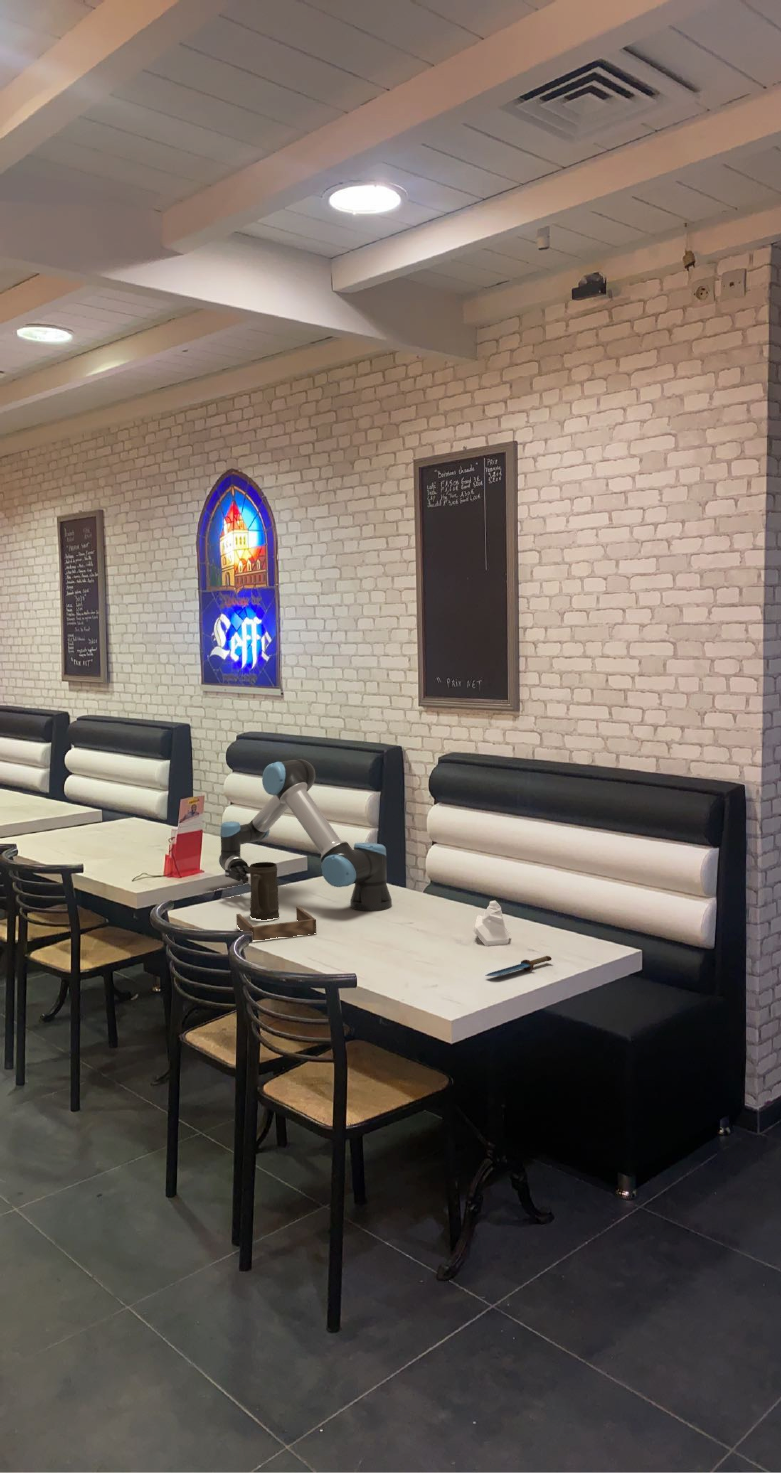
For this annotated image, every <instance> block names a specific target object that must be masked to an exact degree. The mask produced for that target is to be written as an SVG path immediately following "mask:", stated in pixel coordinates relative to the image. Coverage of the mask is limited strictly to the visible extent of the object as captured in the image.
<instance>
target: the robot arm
mask: <svg viewBox="0 0 781 1473" xmlns="http://www.w3.org/2000/svg"><path fill="white" fill-rule="evenodd" d="M315 780H316V770H315V767H314V766H313V765H312V764H311V763H310V762H309V761H307V760H305V759H303V758H302V759H301V758H297V759H291V760H285V761H276V762H273V763H270V764H268V765H267V766H266V767H265V768H264V770H263V773H262V779H261V781H262V782H261V783H262V787H263V790H264V791H265V793H267V794H268V795H270V796H272V797H271V798H270V799H269V800H268V802H266V804H265V805H264V806H263V807H262V808H261V809H260V811H259V812H258V813H257V814H256V815H255V816H254V818H253V819H251V821H249V822H248V823H244V824H240V822H239V821H224V822H222V823H221V824H220V831H219V832H220V833H219V834H220V855H219V857H218V864H219V865H220V867H221V868H222V870H224V875H225V878H230V879H233V880H234V881H237V882H242V884H246V883H248V884H249V886H251V878H250V872H249V868H250V865H249V864H248V863H247V861H245V860H244V859H243V858H242V857H241V848H242V847H241V845H245V844H250V843H255V842H261V841H262V840H265V839H267V838H268V837H269V836H270V829H271V828H272V827H273V826H274V824H275V823H276V822H277V821H279V819H280V818H281V817H282V816H283V815H284V814H285V812H286V811H288V809H290V811H291V812H292V813H293V815H294V816H295V818H296V819H297V821H298V822H299V823H300V825H301V826H302V828H303V830H304V831H305V833H306V834H307V836H308V837H309V839H310V840H311V841H312V843H313V844H314V846H315V847H316V849H317V850H318V851H319V853H320V855H321V856H320V859H319V860H320V862H321V868H320V869H321V875H322V877H323V879H324V880H325V881H326V882H327V883H328V884H329V885H330V886H332V887H335V888H342V887H345V888H346V887H349V886H351V885H353V884H354V886H353V890H352V894H351V898H350V901H349V902H350V903H349V904H350V908H352V909H354V910H358V911H364V912H366V911H367V912H368V911H369V912H374V911H375V912H376V911H382V910H387V909H389V908H391V907H392V906H393V904H392V903H393V902H392V897H391V894H390V890H389V888H388V883H387V882H388V881H387V848H386V846H384V845H383V844H381V843H380V844H379V843H374V842H372V843H371V842H356V843H354V844H353V848H352V847H351V845H350V844H349V843H348V841H344V840H341V839H340V838H341V837H339V836H338V834H337V833H336V831H335V830H334V828H333V827H332V826H331V824H330V822H329V821H328V820H327V818H326V816H324V814H323V812H322V811H321V809H320V808H319V806H318V805H317V804H316V802H315V801H314V799H313V798H312V796H311V795H310V794H309V791H310V789H312V787H313V785H314V784H315Z"/></svg>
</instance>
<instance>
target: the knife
mask: <svg viewBox="0 0 781 1473" xmlns="http://www.w3.org/2000/svg"><path fill="white" fill-rule="evenodd" d="M550 961H552V957H551V956H550V955H545V956H541V957H539V958H535V959H532V960H529V959H523V960H521V961H520V963H518V964H516V965H513V966H509V967H505V968H502V969H499V970H496V971H492V972H489V973H487V974H485V976H486V977H499V976H503V975H506V974H510V973H513V972H515V971H520V970H525V971H532V970H533V969H534V966H535V965H538V964H541V963H545V962H546V963H547V962H550Z"/></svg>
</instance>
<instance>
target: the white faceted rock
mask: <svg viewBox="0 0 781 1473" xmlns="http://www.w3.org/2000/svg"><path fill="white" fill-rule="evenodd" d="M473 932H474V934H475V935H476V937H478V939H479V940H480V941H481V942H482V943H483V945H484V946H485V947H489V946H499V945H500V946H501V945H508V944H509V940H510V938H511V937H510V935H511V932H510V931H509V930H508V928H507V927H506V925H505V921H504V917H503V911H502V906H501V905H500V904H499V903H498V901H496V900H491V901H489V905H488V906H487V908H486V909H485V910H484V911H483V915H476V920H475V924H474V928H473Z"/></svg>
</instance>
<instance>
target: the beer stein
mask: <svg viewBox="0 0 781 1473" xmlns="http://www.w3.org/2000/svg"><path fill="white" fill-rule="evenodd" d="M249 867H250V868H249V872H250V878H251V885H250V908H249V913H250V914H249V917H250V916H251V917H252V918H256V919H261V920H267V919H273V918H278V917H279V915H280V913H279V909H280V906H279V904H280V903H279V883H278V866H277V863H276V862H271V861H261V862H254V863H251V864H250V865H249ZM279 918H280V917H279ZM279 918H278V919H279Z"/></svg>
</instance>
